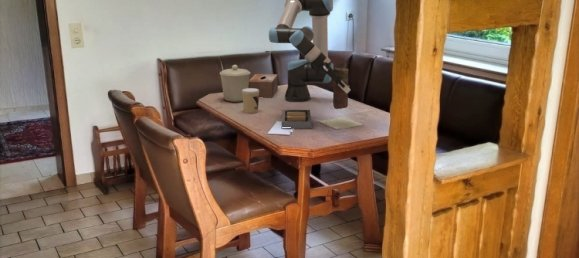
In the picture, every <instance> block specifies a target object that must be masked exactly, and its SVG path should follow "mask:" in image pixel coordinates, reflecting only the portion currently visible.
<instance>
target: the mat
mask: <svg viewBox="0 0 579 258" xmlns="http://www.w3.org/2000/svg"><path fill="white" fill-rule="evenodd" d="M318 123H319V124H322V125H324V126H327V127H329V128H331V129H332V130H336V131H337V130H338V131H339V130H344V129H349V128H356V127H362V126H363V125H364V124H363V123H360V122H359V121H355V120H353V119H351V118H348V117H345V116H343V117H337V118H330V119H324V120H318Z"/></svg>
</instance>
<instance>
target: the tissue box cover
mask: <svg viewBox="0 0 579 258" xmlns="http://www.w3.org/2000/svg"><path fill="white" fill-rule="evenodd" d="M278 75H279V74H278V73H277V74H275V73H255V74H254V75H252V77H250V78H249V86H248V88H255V89H258V90H259V97H263V98H262V99H272V98H273V97H274V96H275V94H276V93H277V91H278V90H279V88H278V87H279V85H278V84H279V83H278V82H279V81H278V78H279V77H278ZM277 89H278V90H277ZM275 92H276V93H275ZM273 95H274V96H273Z"/></svg>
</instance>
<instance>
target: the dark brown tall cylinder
mask: <svg viewBox="0 0 579 258" xmlns="http://www.w3.org/2000/svg"><path fill="white" fill-rule="evenodd" d="M333 70H334V73H335V74H336V75H337V77H338V78H339V79H341V80H342V81H343V82H344V83H345V84H346V85H347V86H349V68H344V67H336V66H335V67H333ZM332 91H333V95H332V99H333V100H332V107H333V108H334V109H336V110H342V109H347V108H348V106H349V92H348V93H346V92H345V91H344V90H343V89H342V88H341V87H340V86H339V85H336V82H335V81H334V80H333V90H332Z"/></svg>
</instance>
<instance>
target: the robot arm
mask: <svg viewBox="0 0 579 258" xmlns="http://www.w3.org/2000/svg"><path fill="white" fill-rule="evenodd" d="M333 10H334V2H333V0H285V3H284V9H283V12H282V14H281V16H280V18H279V21H278V23H277V25H276V27H271V28H270V29H269V31H268V40H269V42H270V43H273V44H274V43H275V44H291V45H292V46H293V47H294V48H295V49H296V50H297V51H298V52H299V53H300V54H301V55H302V56H303V57H304V59H296V60H292V61H290V62H288V64H287V70H286V71H287V88H286V90H285V94H284V100H285V101H287V102H288V101H289V102H291V103H292V102H294V103H300V102H301V103H302V102H308V101H310V100H311V95H310V91H309V88H308V83H312V84H313V83H315V84H329V83H330V82H331V81H333V82H334V81H335V82H336V85H339V86H340V87H341V88H342V89H343V90H344V91H345V92H346V93H348V94H349V93H350V92H351V91H352V90H351V88H350V85H348V86H347V85H346V84H345V83H344V82H343V81H342V80H341V79H339V78H338V77H337V75H336V74H335V73H334V63H333V62H331V59H330V58H329V52H328V51H329V46H328V45H329V42H328V41H329V39H328V30H329V29H328V17H329V16H330V15H331V12H332V11H333ZM303 11H304V12H308V14H309V16H310V17H311V26H308V25H307V26H306V25H305V26H303V27H300V28H299V27H297V28H295V27H293V26H294V24H295V21H296V19H297V17H298V14H300V13H301V12H303Z"/></svg>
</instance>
